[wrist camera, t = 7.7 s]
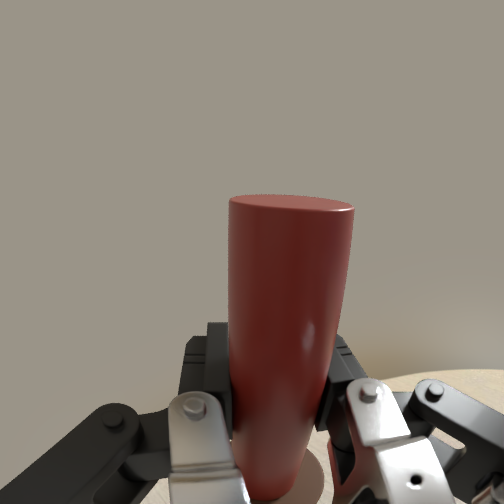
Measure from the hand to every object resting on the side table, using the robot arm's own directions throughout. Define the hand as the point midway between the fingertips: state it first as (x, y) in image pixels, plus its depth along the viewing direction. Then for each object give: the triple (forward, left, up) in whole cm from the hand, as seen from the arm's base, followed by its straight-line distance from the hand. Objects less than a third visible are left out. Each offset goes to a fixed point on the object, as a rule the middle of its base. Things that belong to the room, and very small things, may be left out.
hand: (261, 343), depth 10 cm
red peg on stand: (-1, -3, -8) cm, 9 cm away
